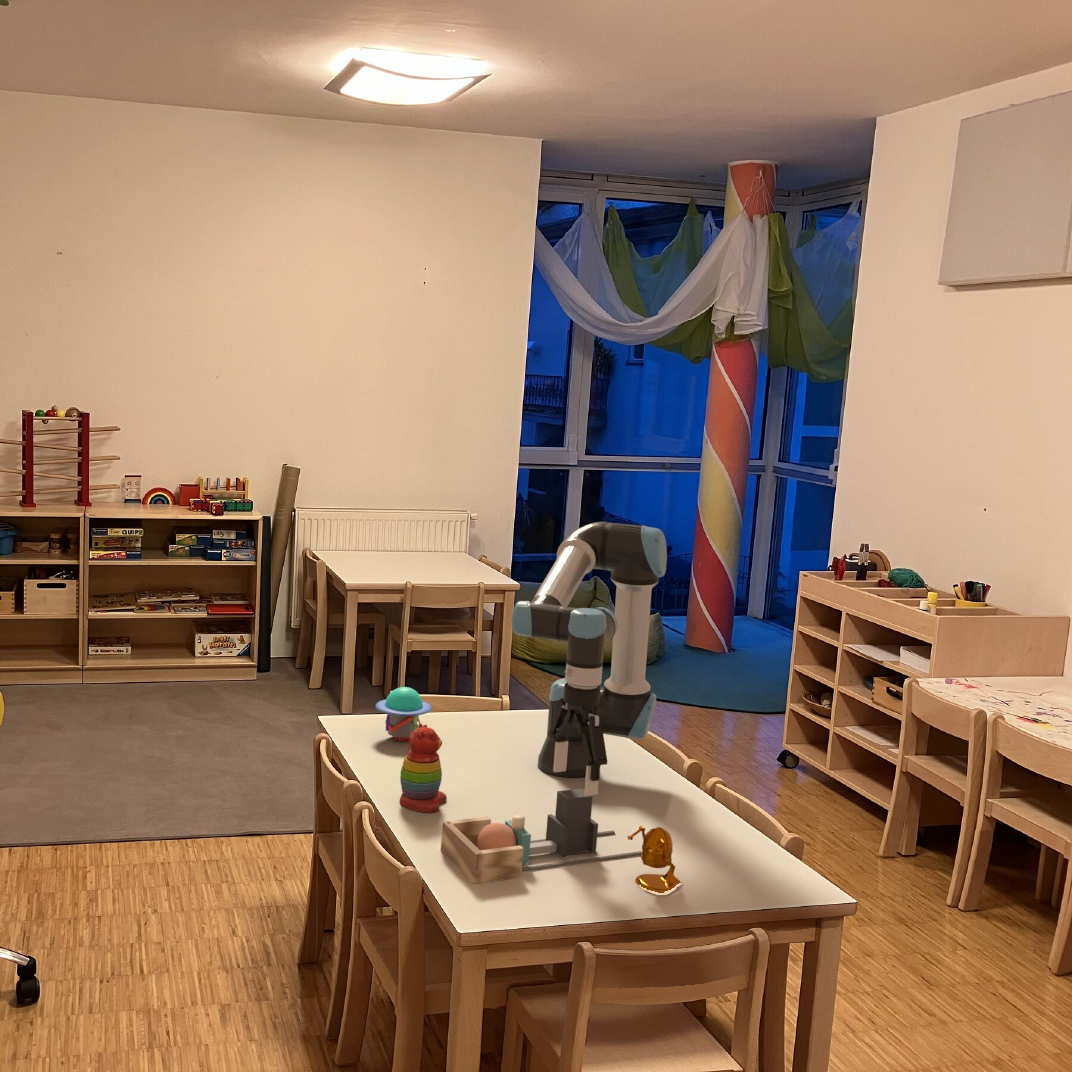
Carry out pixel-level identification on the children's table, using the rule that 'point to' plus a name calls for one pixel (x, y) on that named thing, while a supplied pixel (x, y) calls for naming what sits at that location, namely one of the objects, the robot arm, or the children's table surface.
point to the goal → (479, 852)
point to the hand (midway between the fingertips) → (574, 782)
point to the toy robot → (403, 712)
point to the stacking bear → (422, 772)
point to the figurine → (656, 859)
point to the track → (581, 859)
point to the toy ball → (496, 837)
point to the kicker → (561, 827)
